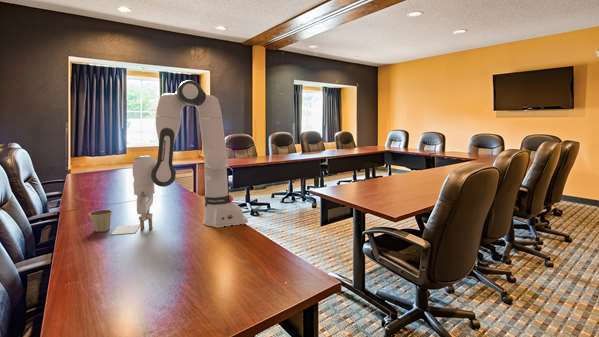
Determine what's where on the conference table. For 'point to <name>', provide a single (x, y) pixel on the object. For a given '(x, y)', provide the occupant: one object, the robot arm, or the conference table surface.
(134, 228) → the mat
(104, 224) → the flower pot
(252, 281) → the conference table surface
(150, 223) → the stool
